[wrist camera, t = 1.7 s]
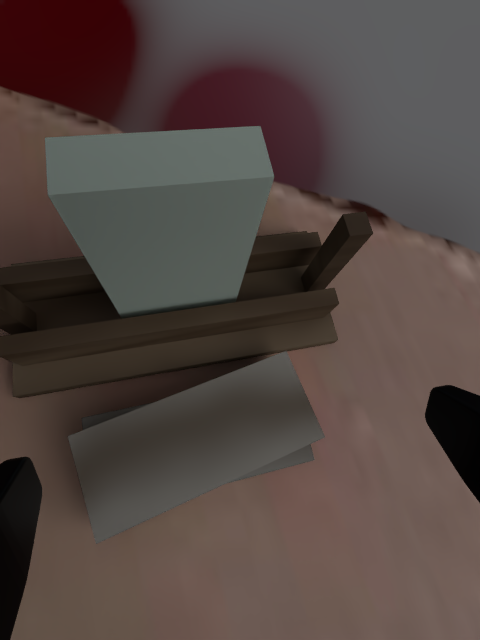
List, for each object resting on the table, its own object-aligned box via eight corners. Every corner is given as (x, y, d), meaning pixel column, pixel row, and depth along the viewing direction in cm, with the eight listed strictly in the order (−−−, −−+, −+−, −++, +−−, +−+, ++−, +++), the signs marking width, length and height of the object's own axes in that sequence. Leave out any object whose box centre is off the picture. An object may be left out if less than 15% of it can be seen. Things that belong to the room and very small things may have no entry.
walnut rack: (333, 343, 23) (398, 298, 16) (19, 397, 20) (-84, 374, 12) (303, 237, 25) (347, 155, 18) (17, 270, 22) (-71, 186, 15)
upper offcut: (315, 437, 20) (324, 437, 19) (104, 534, 17) (96, 543, 16) (279, 357, 21) (286, 350, 20) (77, 436, 19) (67, 436, 17)
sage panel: (232, 310, 22) (274, 176, 11) (126, 326, 21) (47, 194, 10) (227, 281, 23) (260, 126, 11) (123, 295, 22) (45, 137, 10)
